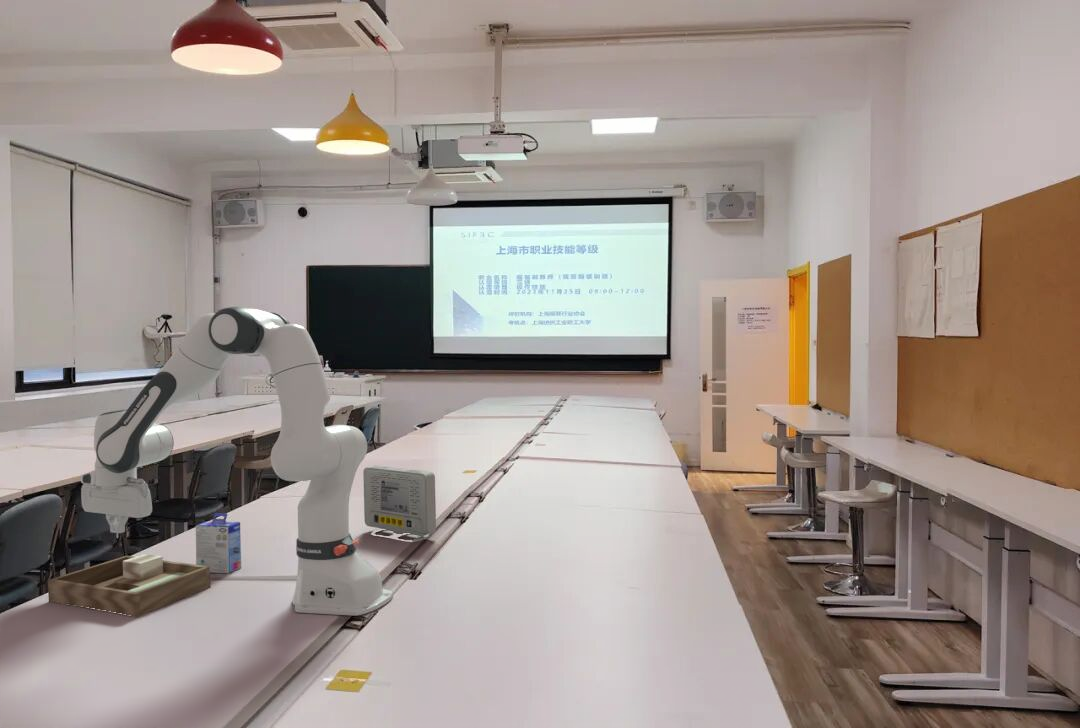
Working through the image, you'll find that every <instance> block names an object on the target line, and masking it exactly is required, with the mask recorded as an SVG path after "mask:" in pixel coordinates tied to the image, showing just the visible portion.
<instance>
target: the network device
mask: <svg viewBox="0 0 1080 728" xmlns="http://www.w3.org/2000/svg"><path fill="white" fill-rule="evenodd" d="M362 474H363V475H362V477H363V505H364V506H363V511H364V513H363V514H364V515H363V516H364V523H365V525H366V527H370V528H377V529H387V530H386V531H392V530H393V533H396V534H403V533H410V534H409V535H415V534H416V536H419V537H416V538H413V540H412V539H411V540H412V541H413V542H412V543H419V542H421V541H424V540H426V539H429V536H430V535H431V534H434V533H435V532H436V530H437V515H436V514H437V510H436V509H437V508H436V505H437V503H436V502H437V501H436V476H435V473H434V472H433V471H429V470H419V469H410V468H401V467H400V468H399V467H392V466H383V465H372V466H371V465H370V466H368V467H364V468H363V473H362Z"/></svg>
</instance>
